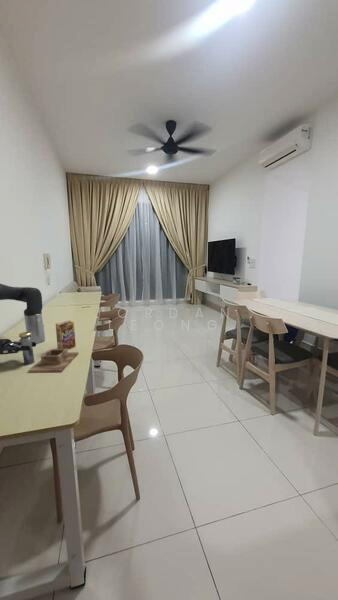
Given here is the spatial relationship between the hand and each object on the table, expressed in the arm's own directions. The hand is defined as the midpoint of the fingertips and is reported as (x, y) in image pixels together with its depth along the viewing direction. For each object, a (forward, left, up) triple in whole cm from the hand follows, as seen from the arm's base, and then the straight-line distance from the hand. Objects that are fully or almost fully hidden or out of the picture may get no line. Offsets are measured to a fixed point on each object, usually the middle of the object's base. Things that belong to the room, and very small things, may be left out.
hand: (32, 346), depth 116 cm
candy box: (-18, +8, -9) cm, 22 cm away
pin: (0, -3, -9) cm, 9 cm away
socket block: (0, +10, -9) cm, 13 cm away
